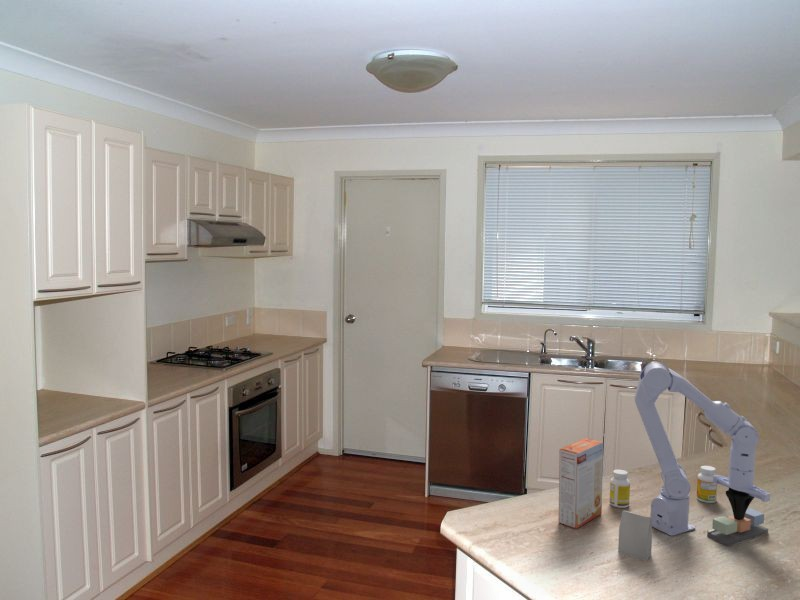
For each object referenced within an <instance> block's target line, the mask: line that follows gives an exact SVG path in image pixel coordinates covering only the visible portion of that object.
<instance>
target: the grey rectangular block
mask: <svg viewBox="0 0 800 600" xmlns="http://www.w3.org/2000/svg"><path fill="white" fill-rule="evenodd" d="M620 516H621V517H620V522H619V529H618V545H617V552H618V553H620V554H623V555H626V556H631V557H632V558H636V559H639V560H642V561H645V562H646V561H648V559H650V557H651V556H652V546H653V544H652V543H653V542H652V541H653V529H652V528H653V527H652V526H651V517H650V516H647V515H642V514H639V513H636V512H631V511H629V510H625V509H623V510H622V511H621V515H620Z"/></svg>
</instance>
